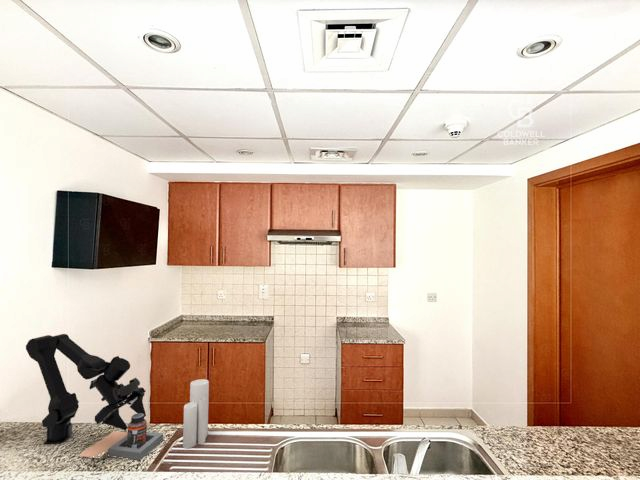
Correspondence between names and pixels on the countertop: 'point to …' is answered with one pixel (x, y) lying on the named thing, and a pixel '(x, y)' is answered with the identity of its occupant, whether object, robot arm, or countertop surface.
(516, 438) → the countertop surface
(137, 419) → the supplement bottle
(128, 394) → the robot arm
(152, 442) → the filter housing collar
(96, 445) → the terracotta mat
